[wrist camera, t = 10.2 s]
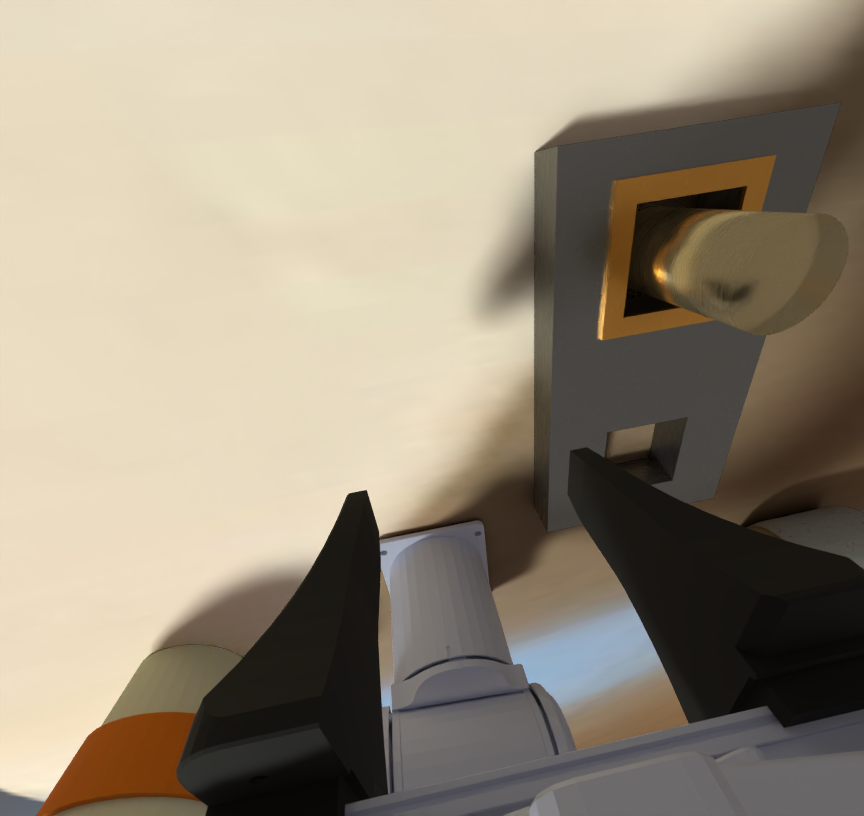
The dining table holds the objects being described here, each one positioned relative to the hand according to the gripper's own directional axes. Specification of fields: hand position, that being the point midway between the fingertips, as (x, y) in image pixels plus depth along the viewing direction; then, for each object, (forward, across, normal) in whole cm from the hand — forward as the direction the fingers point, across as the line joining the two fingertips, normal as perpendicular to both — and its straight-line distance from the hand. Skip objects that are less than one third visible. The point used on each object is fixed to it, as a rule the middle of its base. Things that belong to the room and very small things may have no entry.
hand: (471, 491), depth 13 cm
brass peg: (+10, -12, -5) cm, 16 cm away
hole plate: (+10, -12, +1) cm, 16 cm away
